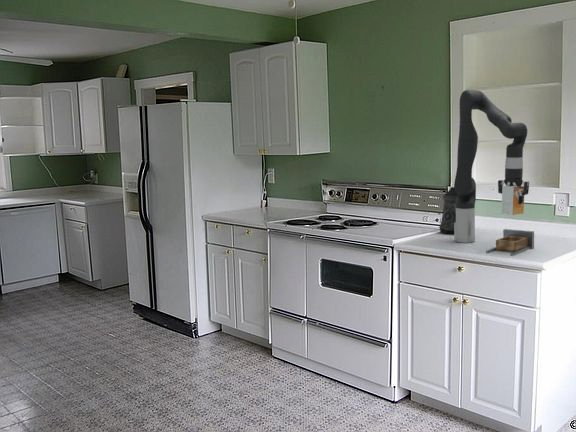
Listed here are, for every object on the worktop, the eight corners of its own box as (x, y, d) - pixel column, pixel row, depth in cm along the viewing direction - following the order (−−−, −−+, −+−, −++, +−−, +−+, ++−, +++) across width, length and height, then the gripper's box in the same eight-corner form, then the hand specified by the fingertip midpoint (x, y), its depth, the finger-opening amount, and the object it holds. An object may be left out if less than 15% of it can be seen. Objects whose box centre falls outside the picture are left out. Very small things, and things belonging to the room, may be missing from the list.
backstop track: (484, 253, 270) (484, 235, 269) (505, 245, 284) (505, 229, 283) (514, 256, 260) (514, 238, 259) (534, 248, 274) (534, 231, 273)
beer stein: (450, 228, 337) (449, 185, 334) (481, 232, 323) (480, 186, 319) (433, 233, 326) (432, 188, 323) (464, 236, 312) (463, 189, 308)
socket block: (495, 250, 273) (495, 240, 273) (507, 246, 282) (507, 235, 281) (516, 252, 266) (516, 242, 266) (527, 248, 274) (528, 237, 274)
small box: (512, 215, 266) (513, 186, 264) (500, 213, 271) (501, 185, 269) (524, 213, 270) (525, 185, 268) (512, 212, 275) (513, 184, 273)
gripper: (533, 167, 264) (531, 203, 267) (502, 166, 275) (501, 201, 277) (525, 168, 259) (524, 205, 262) (495, 167, 270) (494, 203, 272)
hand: (512, 203), depth 270 cm, fingers closed on small box, 7 cm apart
